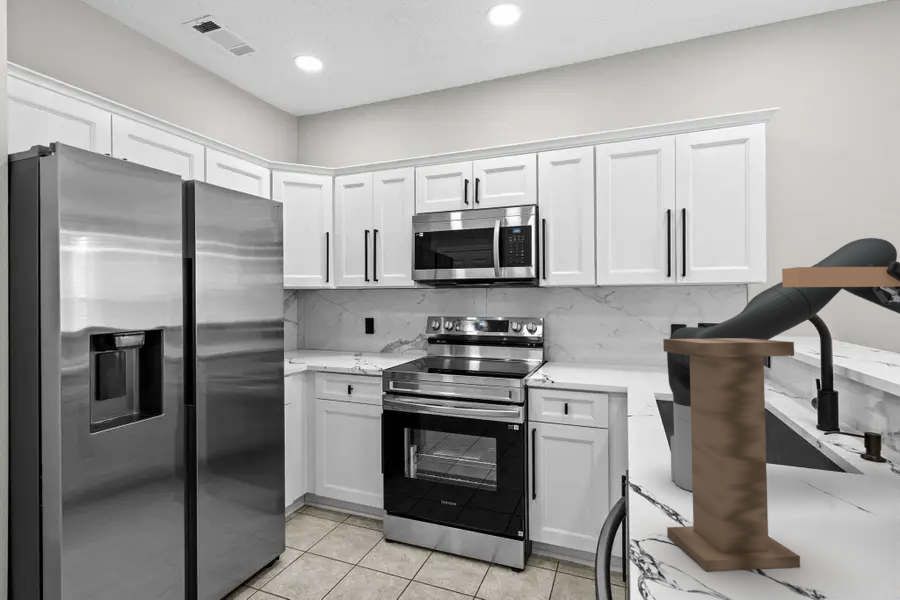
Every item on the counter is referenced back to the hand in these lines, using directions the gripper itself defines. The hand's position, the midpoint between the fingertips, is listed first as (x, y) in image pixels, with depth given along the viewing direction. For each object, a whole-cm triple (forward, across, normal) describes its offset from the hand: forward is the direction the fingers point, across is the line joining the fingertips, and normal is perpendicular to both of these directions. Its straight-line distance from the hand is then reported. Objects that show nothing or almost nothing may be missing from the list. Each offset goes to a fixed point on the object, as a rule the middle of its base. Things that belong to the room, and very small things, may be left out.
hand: (879, 267), depth 75 cm
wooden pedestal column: (+3, +2, +52) cm, 52 cm away
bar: (+2, 0, +5) cm, 5 cm away
